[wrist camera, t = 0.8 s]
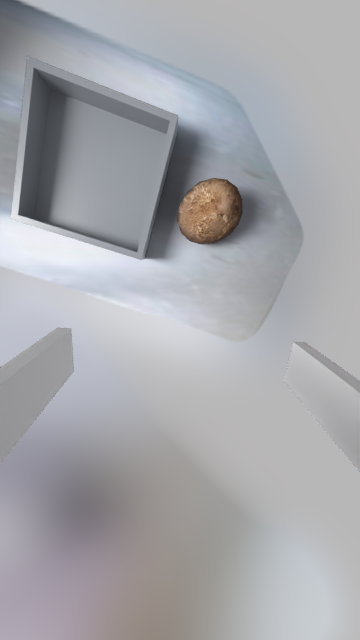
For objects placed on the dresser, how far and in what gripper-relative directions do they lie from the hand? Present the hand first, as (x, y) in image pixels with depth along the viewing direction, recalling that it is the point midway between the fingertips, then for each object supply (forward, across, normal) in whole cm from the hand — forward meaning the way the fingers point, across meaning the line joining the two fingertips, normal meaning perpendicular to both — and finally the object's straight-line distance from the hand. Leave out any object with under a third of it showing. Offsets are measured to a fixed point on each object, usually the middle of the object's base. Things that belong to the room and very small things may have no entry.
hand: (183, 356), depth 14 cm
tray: (+21, -10, +14) cm, 27 cm away
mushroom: (+22, +3, +10) cm, 24 cm away
